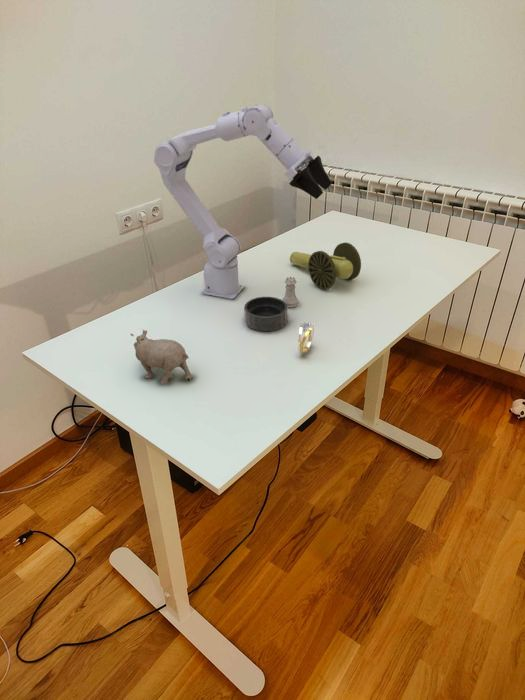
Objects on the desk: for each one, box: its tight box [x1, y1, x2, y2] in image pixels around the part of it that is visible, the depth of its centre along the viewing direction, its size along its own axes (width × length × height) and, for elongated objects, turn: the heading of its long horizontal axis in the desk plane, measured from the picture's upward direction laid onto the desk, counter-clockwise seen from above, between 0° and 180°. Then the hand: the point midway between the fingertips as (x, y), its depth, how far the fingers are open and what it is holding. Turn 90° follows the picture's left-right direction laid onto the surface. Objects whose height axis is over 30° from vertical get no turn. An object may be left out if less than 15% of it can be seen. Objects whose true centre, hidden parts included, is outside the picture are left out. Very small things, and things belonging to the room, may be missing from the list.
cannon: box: [289, 242, 362, 291], centre depth 151 cm, size 25×12×11 cm, turn 37°
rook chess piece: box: [282, 276, 299, 309], centre depth 138 cm, size 4×4×8 cm
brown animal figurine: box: [130, 329, 193, 385], centre depth 111 cm, size 8×14×15 cm
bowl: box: [243, 296, 289, 332], centre depth 131 cm, size 11×11×4 cm
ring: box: [297, 321, 315, 355], centre depth 118 cm, size 7×3×8 cm, turn 148°
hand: (324, 191), depth 120 cm, fingers open, 7 cm apart
